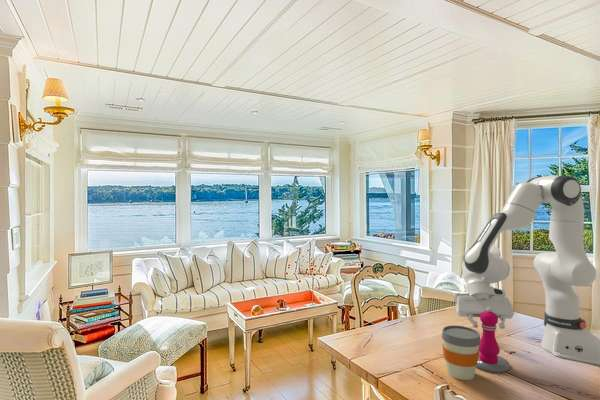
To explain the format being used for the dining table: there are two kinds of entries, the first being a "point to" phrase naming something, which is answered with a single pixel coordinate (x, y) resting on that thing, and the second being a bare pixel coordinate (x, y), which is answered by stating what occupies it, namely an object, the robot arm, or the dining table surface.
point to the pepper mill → (488, 338)
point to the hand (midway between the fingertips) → (489, 327)
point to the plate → (494, 365)
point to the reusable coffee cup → (461, 351)
